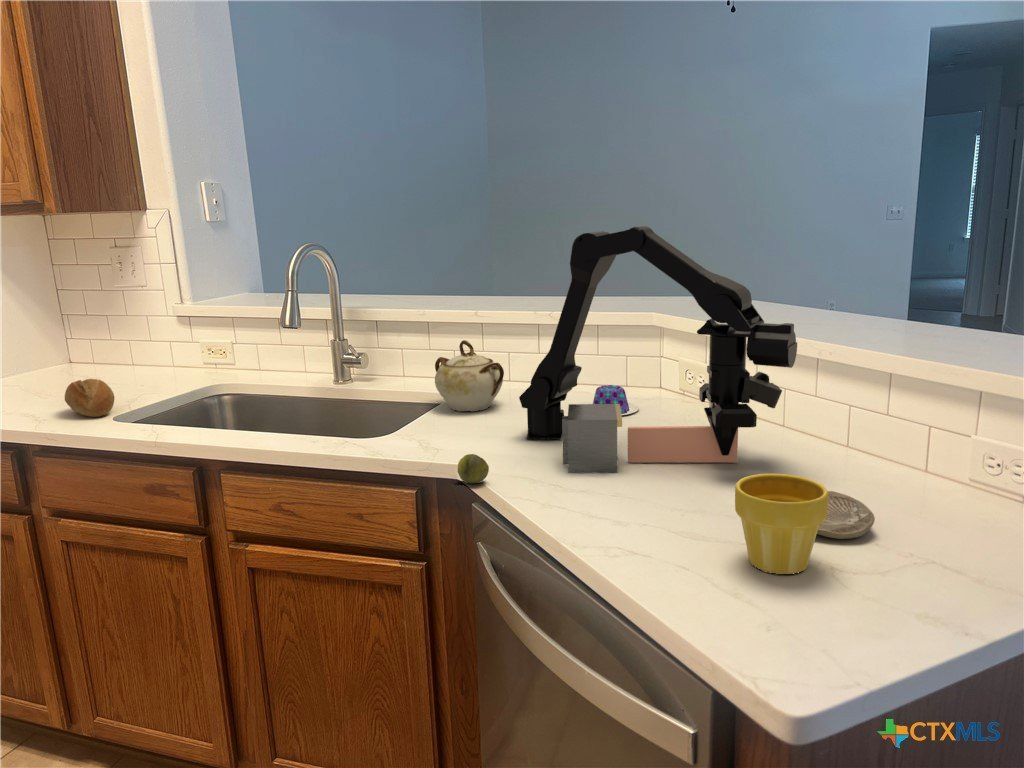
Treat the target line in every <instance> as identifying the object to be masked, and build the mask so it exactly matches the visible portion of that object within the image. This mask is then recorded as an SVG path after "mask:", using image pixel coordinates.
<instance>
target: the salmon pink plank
mask: <svg viewBox="0 0 1024 768" xmlns="http://www.w3.org/2000/svg"><path fill="white" fill-rule="evenodd" d="M738 441H739V428H738V429H737V431H736V434H735V437H734V440H733V443H732V446H731V449H730V452H729V455H722V454H721V451H720V448H719V446H718V443H717V440H716V437H715V434H714V431H713V428H712V426H710V425H709V426H708V425H706V426H705V425H702V426H701V425H699V426H698V425H697V426H695V425H694V426H693V425H692V426H691V425H690V426H688V425H686V426H684V425H682V426H679V425H678V426H677V425H676V426H674V425H673V426H670V425H669V426H627V463H738V445H739V444H738V443H739V442H738Z"/></svg>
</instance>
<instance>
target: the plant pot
mask: <svg viewBox="0 0 1024 768" xmlns="http://www.w3.org/2000/svg"><path fill="white" fill-rule="evenodd" d="M828 491H829V490H828V489H827V488H826V487H825V486H824V485H823V484H821V483H820V482H818V481H815V480H813V479H810V478H807V477H803V476H799V475H793V474H786V473H785V474H784V473H759V474H752V475H749V476H745V477H743V478H740V479H739V480H737V481H736V483H735V486H734V508H735V512H736V515H737V516H738V517H739V518H740V520H741V525H742V531H743V535H744V540H745V544H746V550H747V555H748V560H749V562H750V564H751V565H752V566H753V565H754V566H755V567H754V566H753V567H754V568H756V567H757V568H758V570H759V569H761V570H763V571H762V572H764V571H766V572H765V573H767V572H771V573H776V574H775V575H777V574H793V573H798V572H801V571H803V570H804V569H805V570H807V567H808V566H809V565H808V564H809V561H810V558H811V554H812V551H813V548H814V545H815V540H816V537H817V535H818V534H817V531H818V528H819V525H820V524H821V523H823V522H824V521H825V519H826V515H827V507H828ZM757 568H756V569H757ZM761 570H760V571H761ZM805 570H804V571H805ZM804 571H803V572H804ZM771 573H770V574H771ZM801 573H802V572H801ZM798 574H799V573H798Z"/></svg>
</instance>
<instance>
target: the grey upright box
mask: <svg viewBox="0 0 1024 768" xmlns="http://www.w3.org/2000/svg"><path fill="white" fill-rule="evenodd" d="M567 409H568V410H567V415H564V416H562V436H561V440H562V465H565V466H566V465H567V469H568V471H567V472H568V474H569V473H573V474H576V473H578V474H582V473H585V474H586V473H588V474H589V473H590V474H591V473H592V474H594V473H595V474H598V473H599V474H601V473H602V474H603V473H605V474H607V473H609V474H610V473H611V474H616V473H618V428H623V415H622V414H621V409H620V404H590V403H570V404H568V408H567Z"/></svg>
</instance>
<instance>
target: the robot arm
mask: <svg viewBox="0 0 1024 768" xmlns="http://www.w3.org/2000/svg"><path fill="white" fill-rule="evenodd" d="M631 252H634V253H636V254H637V255H639V257H641V258H642V259H644V260H646V261H647V263H650V264H651V265H652V266H654V267H655V268H657V270H659V271H660V272H662V273H663V274H665V275H666V276H668V278H670V279H671V280H673V281H674V282H675V283H677V284H678V285H680V286H681V287H682V288H684V289H685V290H687V291H688V293H690V294H691V295H692V297H693V298H694V300H695V301H696V304H697V305H698V307H700V308H701V310H702V311H704V313H706V314H707V316H708V317H710V318H709V319H707V320H706V321H705V323H704V324H703V325H702V326H701V327H700V328H699V329H697V331H696V334H697V335H701V336H702V335H704V336H709V355H708V356H709V360H708V361H709V362H708V365H706V373H707V374H708V382H707V383H706V382H705V383H704V384H703V385H702V386H700V387H699V392H698V393H699V395H698V399H699V401H700V402H701V403H705V402H706V399H707V401H708V402H709V403H708V406H709V407H703V409H704V410H703V411H704V413H705V415H706V418H707V420H708V423H709V426H712V428H713V431H714V434H715V437H716V440H717V443H718V446H719V448H720V451H721V454H722V455H729V452H730V449H731V446H732V443H733V440H734V437H735V434H736V431H737V429H738V430H739V428H756V427H757V423H758V422H757V418H758V417H757V416H758V415H757V413H756V412H755V411H754V409H753V408H752V407H751V406H749V405H748V404H750V401H751V400H752V401H754V402H756V403H760V404H762V405H766V406H767V408H771V409H776V406H777V404H778V402H779V400H780V397H781V394H782V392H783V390H782V389H781V388H780V387H779V386H778V385H776V383H775V384H774V382H770V376H769V375H768V374H767V373H765V372H761V371H757V372H756V373H755V374H754V375H750V374H751V373H750V372H749V371H748V370H747V368H746V366H747V364H746V361H747V358H748V360H749V361H752V363H753V365H755V366H766V367H778V368H779V367H780V368H788V369H789V368H793V367H794V365H795V362H796V359H797V353H798V342H797V336H796V333H795V324H794V323H792V322H791V323H788V322H784V323H765V320H764V319H763V318H762V316H761V315H760V313H759V311H758V310H757V309H756V308H755V306H754V305H753V303H752V301H753V300H752V294H751V292H750V290H749V289H748V288H747V287H746V286H744V285H743V284H741V283H739V282H737V281H735V280H732V279H730V278H728V277H726V276H723V275H720V274H718V273H714V272H712V271H709V270H707V269H706V268H705V267H703V266H701V265H700V264H699V263H698V262H696V261H695V260H693V259H692V258H690V257H689V256H688V255H687V254H685V253H683V251H681V250H679V249H678V248H676V247H675V246H673V245H672V244H671V243H669V242H668V241H666V240H665V239H663V238H662V237H661V236H659V235H658V234H657V233H656V232H654V230H653V229H652V228H651V227H649V226H646V225H645V226H643V225H641V226H633V227H630V228H629V229H626V230H625V229H624V230H621V231H616V232H612V233H609V232H608V231H603V230H602V231H594V232H593V231H592V232H586V233H581V234H580V235H577V236H576V238H575V239H574V240H573V242H572V246H571V252H570V261H569V269H570V274H571V275H570V276H571V280H570V284H569V287H568V290H567V294H566V296H565V300H564V303H563V306H562V310H561V313H560V316H559V320H558V323H557V326H556V328H555V333H554V335H553V339H552V342H551V345H550V348H549V350H548V352H547V354H545V356H544V358H543V359H542V360H541V362H540V363H539V364H538V365H537V367H536V370H535V372H534V373H533V375H532V377H531V380H530V385H529V386H528V387H527V388H526V389H525V390H524V391H523V392H522V393H521V395H520V396H519V397H518V399H519V402H520V404H521V405H520V406H521V407H522V408H523V409H526V413H527V414H526V415H527V417H526V418H527V434H526V440H562V416H565V411H564V409H562V407H561V405H562V402H563V401H565V400H566V398H567V395H568V393H570V391H572V390H573V388H575V387H577V386H578V378H579V376H580V373H581V371H582V370H583V369H582V366H580V365H576V357H575V355H576V353H577V348H578V346H579V342H580V340H581V336H582V333H583V330H584V326H585V323H586V320H587V318H588V315H589V311H590V309H591V305H592V302H593V300H594V296H595V293H596V290H597V287H598V285H599V284H600V282H601V281H602V280H603V278H604V277H605V276H606V274H607V273H608V272H609V270H610V268H611V267H612V265H613V262H614V261H615V259H616V257H617V256H618V255H623V254H627V253H631Z"/></svg>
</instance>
